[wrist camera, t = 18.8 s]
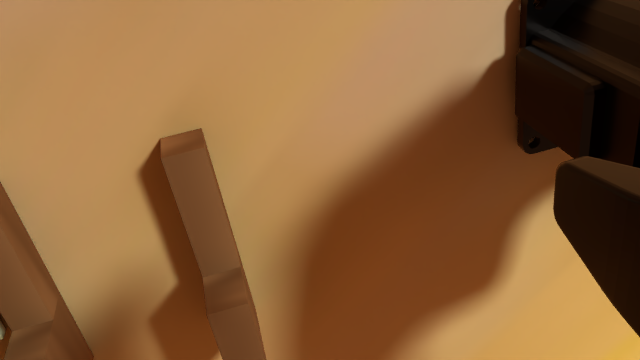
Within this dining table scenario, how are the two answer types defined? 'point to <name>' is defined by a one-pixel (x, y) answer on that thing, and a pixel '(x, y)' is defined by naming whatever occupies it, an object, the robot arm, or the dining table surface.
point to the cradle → (2, 330)
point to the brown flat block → (207, 243)
